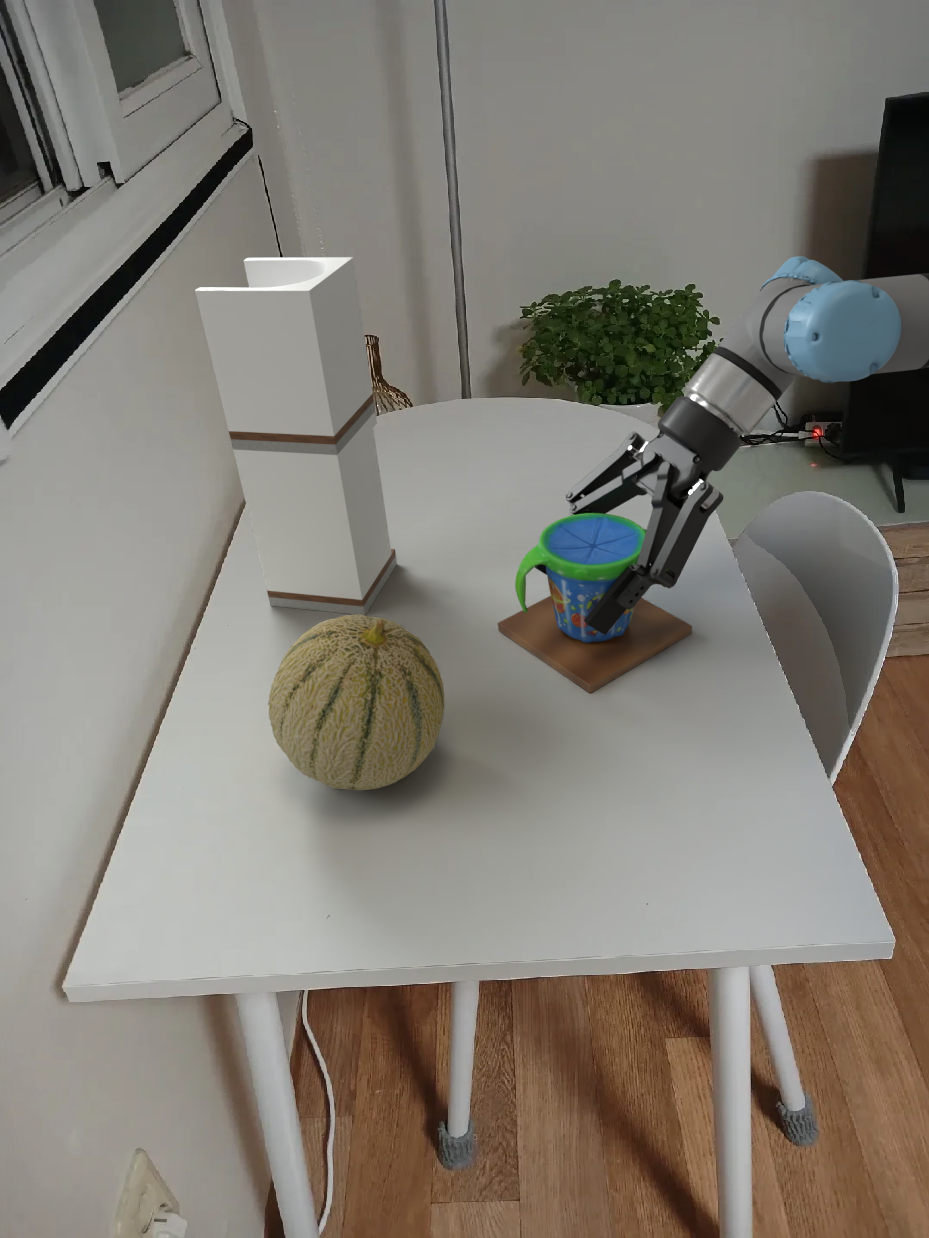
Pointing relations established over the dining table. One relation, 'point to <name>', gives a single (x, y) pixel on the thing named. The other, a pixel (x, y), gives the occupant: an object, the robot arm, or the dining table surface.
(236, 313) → the striped white pillar
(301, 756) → the cantaloupe
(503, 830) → the dining table surface
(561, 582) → the snack cup
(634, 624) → the wooden board
